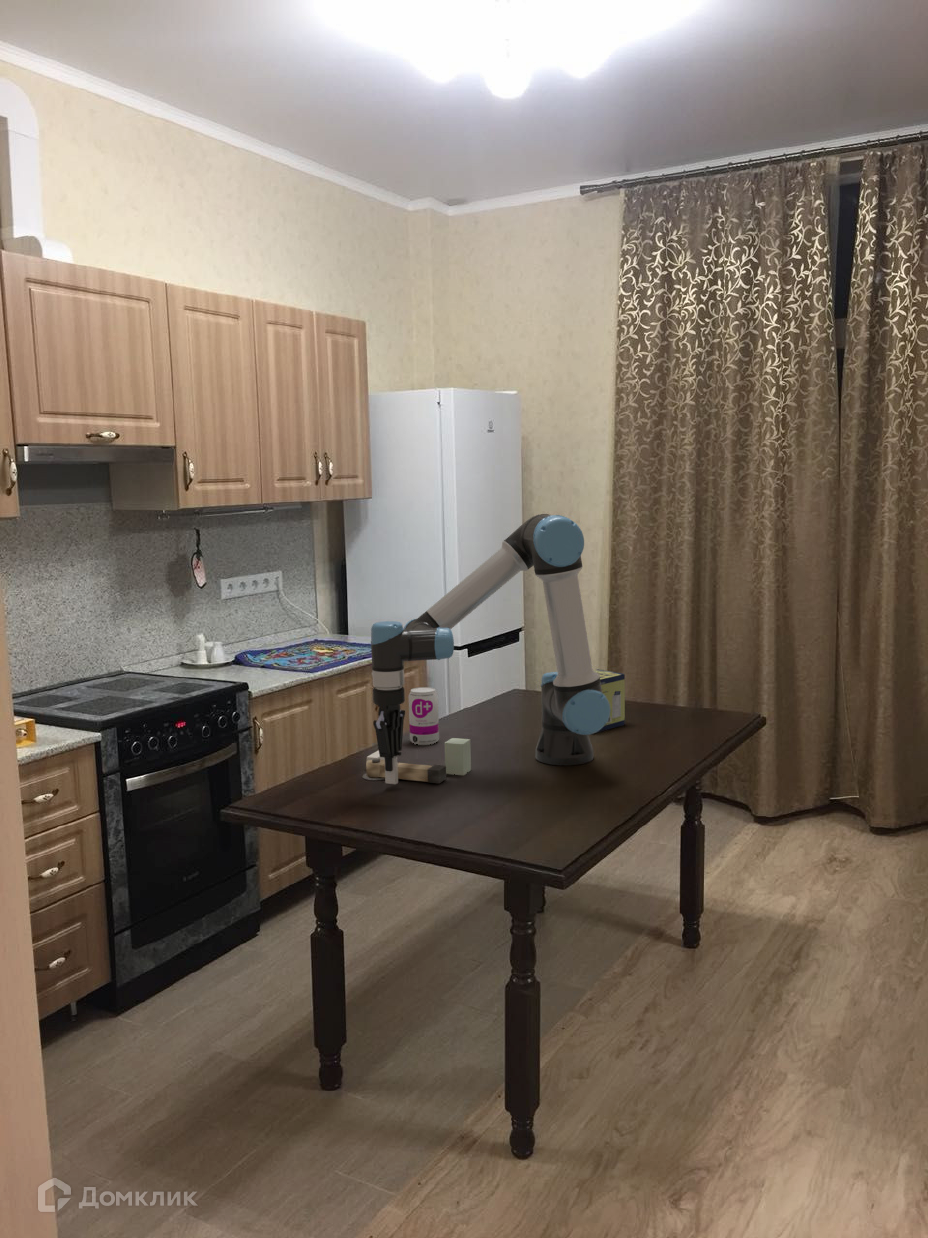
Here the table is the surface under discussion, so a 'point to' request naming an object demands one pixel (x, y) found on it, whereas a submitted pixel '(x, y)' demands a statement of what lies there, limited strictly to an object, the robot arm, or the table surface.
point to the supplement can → (423, 716)
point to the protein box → (613, 697)
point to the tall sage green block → (457, 756)
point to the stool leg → (408, 771)
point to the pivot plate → (372, 777)
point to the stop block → (375, 756)
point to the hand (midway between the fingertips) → (391, 782)
